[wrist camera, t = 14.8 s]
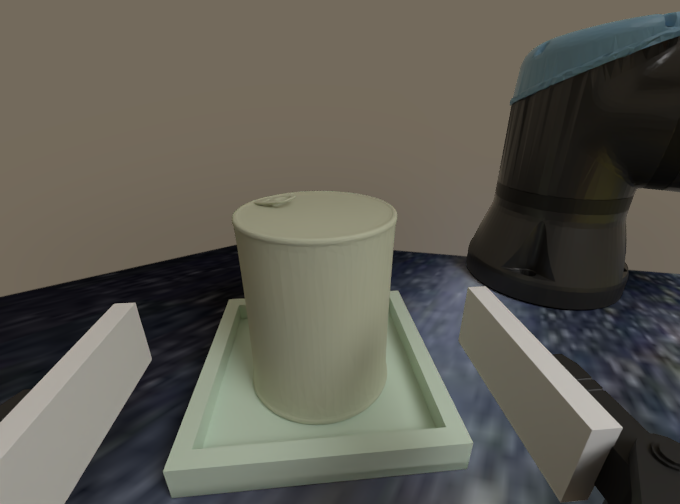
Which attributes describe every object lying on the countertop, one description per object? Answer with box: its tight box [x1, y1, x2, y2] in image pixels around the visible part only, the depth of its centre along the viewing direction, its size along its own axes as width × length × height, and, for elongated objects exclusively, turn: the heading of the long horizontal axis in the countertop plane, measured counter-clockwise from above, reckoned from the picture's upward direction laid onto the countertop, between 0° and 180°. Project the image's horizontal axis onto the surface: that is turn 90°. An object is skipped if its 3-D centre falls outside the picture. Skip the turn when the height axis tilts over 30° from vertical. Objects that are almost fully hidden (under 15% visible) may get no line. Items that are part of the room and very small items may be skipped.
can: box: [232, 191, 397, 425], centre depth 21 cm, size 9×9×12 cm
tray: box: [163, 291, 473, 498], centre depth 23 cm, size 15×15×2 cm
